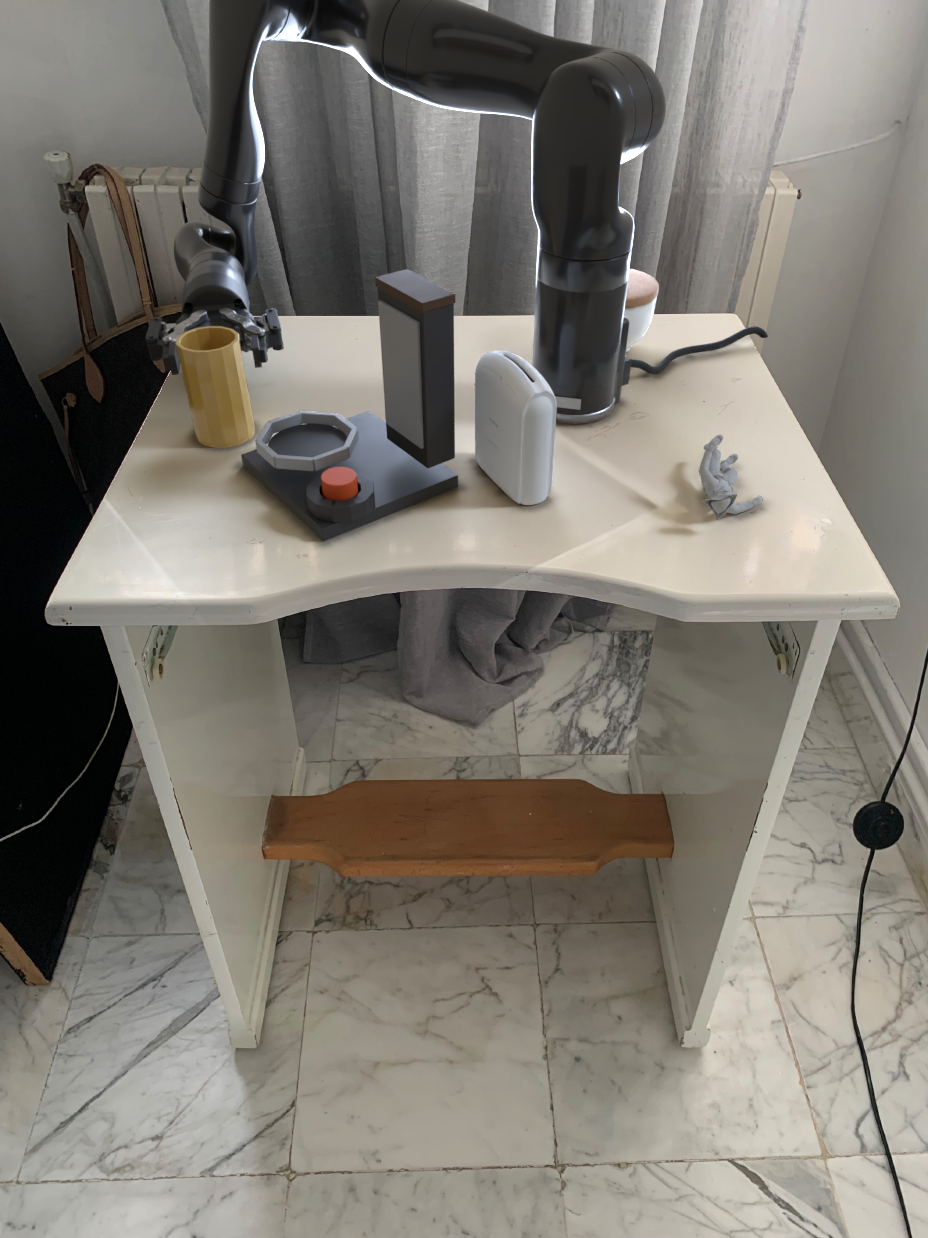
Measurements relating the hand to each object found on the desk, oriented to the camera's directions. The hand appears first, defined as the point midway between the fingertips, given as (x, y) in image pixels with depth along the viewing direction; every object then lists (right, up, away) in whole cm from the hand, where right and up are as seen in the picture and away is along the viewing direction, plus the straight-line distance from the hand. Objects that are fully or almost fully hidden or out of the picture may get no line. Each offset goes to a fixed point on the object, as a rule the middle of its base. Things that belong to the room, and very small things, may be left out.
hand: (215, 362), depth 94 cm
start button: (+15, -15, -12) cm, 24 cm away
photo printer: (+31, -13, -5) cm, 34 cm away
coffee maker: (+15, -10, -7) cm, 19 cm away
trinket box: (+44, +7, +18) cm, 48 cm away
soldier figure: (+50, -15, -7) cm, 53 cm away
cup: (+1, -7, +1) cm, 7 cm away
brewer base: (+15, -13, -5) cm, 20 cm away
